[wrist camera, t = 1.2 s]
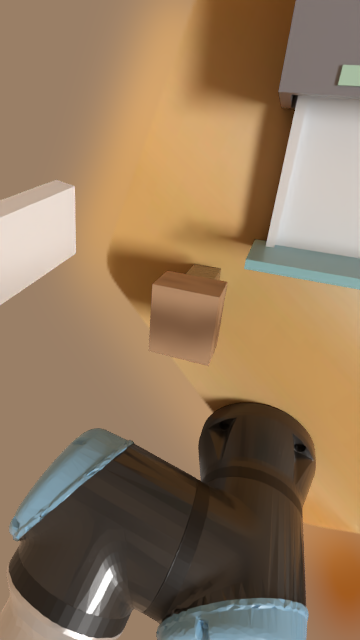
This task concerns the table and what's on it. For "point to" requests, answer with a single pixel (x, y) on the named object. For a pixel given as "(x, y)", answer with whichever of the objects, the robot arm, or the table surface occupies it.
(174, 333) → the walnut block
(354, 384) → the table surface
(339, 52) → the housing
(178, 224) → the table surface
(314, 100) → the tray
